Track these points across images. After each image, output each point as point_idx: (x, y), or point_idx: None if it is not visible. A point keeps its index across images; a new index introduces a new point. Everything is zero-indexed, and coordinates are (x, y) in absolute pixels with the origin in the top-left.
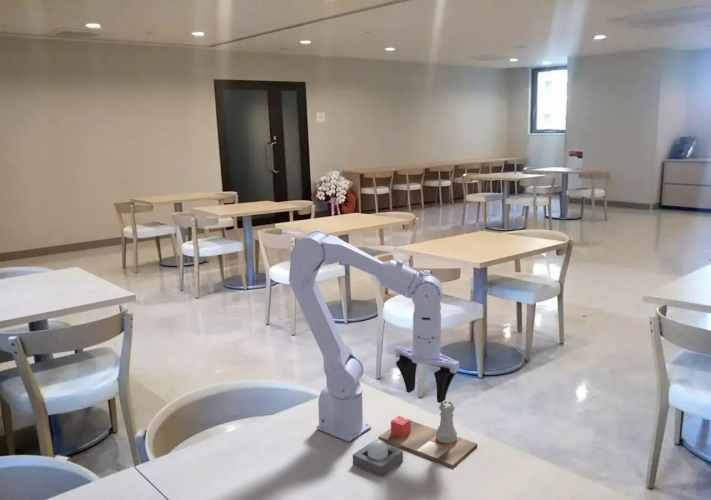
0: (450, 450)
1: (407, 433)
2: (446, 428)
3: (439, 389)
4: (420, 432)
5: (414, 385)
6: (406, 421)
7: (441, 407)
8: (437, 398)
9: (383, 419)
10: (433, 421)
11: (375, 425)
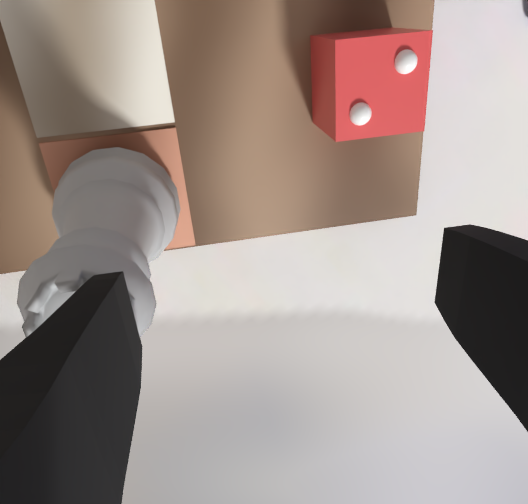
0: (15, 123)
1: (313, 91)
2: (78, 204)
3: (23, 357)
4: (271, 161)
5: (455, 326)
6: (342, 102)
7: (99, 267)
8: (103, 284)
9: (509, 148)
10: (301, 297)
11: (517, 67)
